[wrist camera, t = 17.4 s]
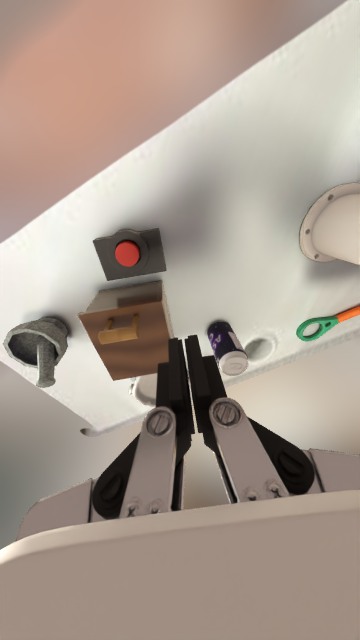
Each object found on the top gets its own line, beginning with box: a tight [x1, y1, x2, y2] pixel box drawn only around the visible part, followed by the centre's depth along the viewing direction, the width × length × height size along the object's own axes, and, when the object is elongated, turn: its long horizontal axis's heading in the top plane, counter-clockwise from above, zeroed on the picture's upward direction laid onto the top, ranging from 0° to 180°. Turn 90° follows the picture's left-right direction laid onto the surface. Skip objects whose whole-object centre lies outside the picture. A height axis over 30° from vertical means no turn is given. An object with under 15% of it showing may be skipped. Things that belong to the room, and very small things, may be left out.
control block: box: [93, 228, 166, 281], centre depth 32 cm, size 11×8×4 cm
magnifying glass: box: [297, 306, 360, 341], centre depth 45 cm, size 15×6×2 cm, turn 119°
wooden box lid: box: [77, 299, 171, 381], centre depth 30 cm, size 15×13×5 cm
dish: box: [129, 373, 191, 407], centre depth 50 cm, size 14×14×5 cm
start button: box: [115, 241, 140, 266], centre depth 30 cm, size 4×4×2 cm
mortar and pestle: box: [3, 317, 68, 388], centre depth 36 cm, size 11×9×12 cm
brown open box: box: [85, 280, 174, 338], centre depth 37 cm, size 15×13×9 cm
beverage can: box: [207, 322, 248, 376], centre depth 40 cm, size 6×6×12 cm
